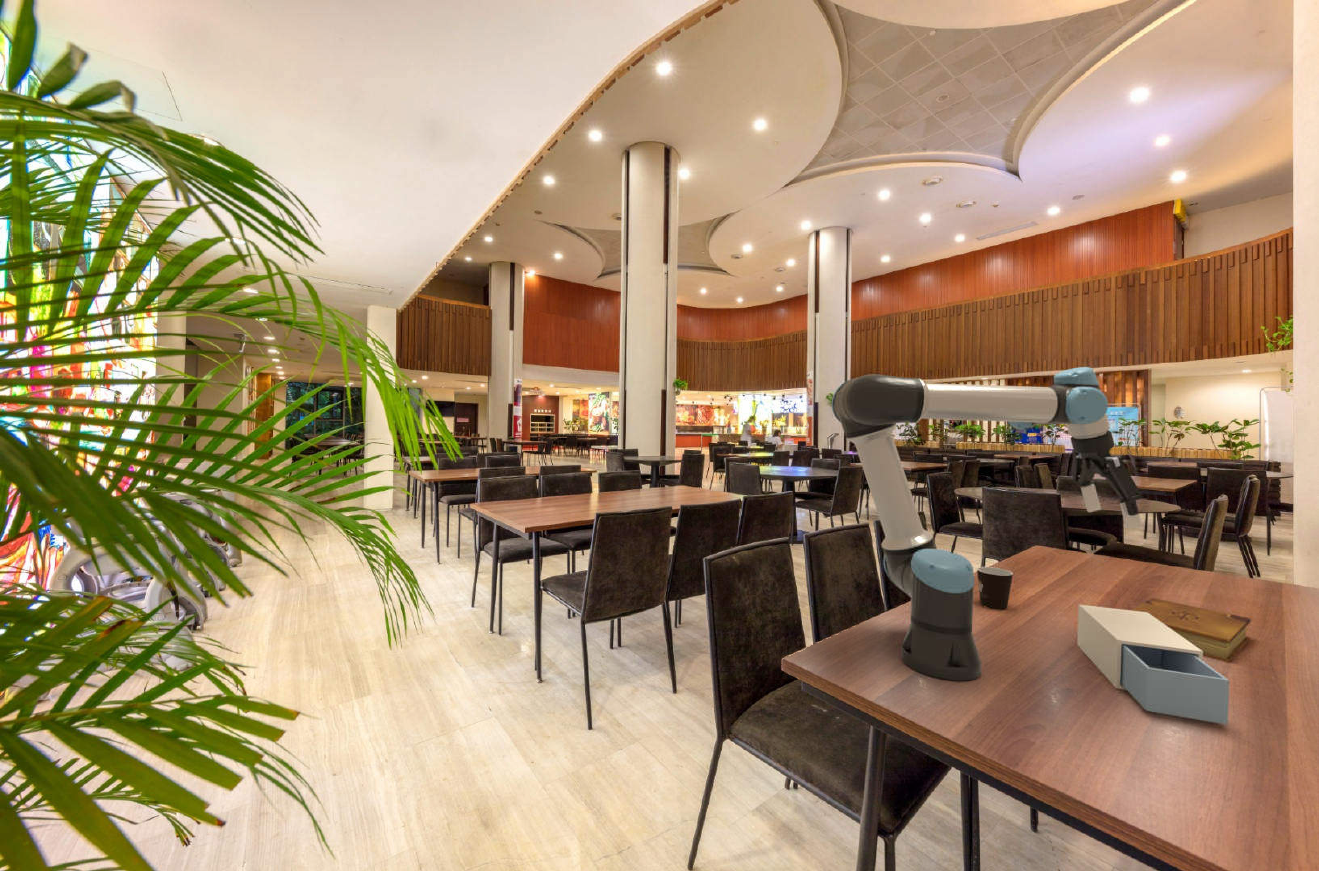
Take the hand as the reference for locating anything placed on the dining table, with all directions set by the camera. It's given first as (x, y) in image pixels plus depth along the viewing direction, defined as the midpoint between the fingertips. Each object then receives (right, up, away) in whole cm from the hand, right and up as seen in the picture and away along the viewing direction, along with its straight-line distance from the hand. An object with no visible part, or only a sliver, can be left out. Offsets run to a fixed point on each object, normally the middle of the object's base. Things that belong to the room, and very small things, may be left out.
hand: (1113, 518), depth 123 cm
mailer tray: (-11, -30, -22) cm, 39 cm away
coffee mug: (-11, -29, +27) cm, 41 cm away
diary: (+22, -30, +6) cm, 38 cm away
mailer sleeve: (-7, -30, -13) cm, 33 cm away
